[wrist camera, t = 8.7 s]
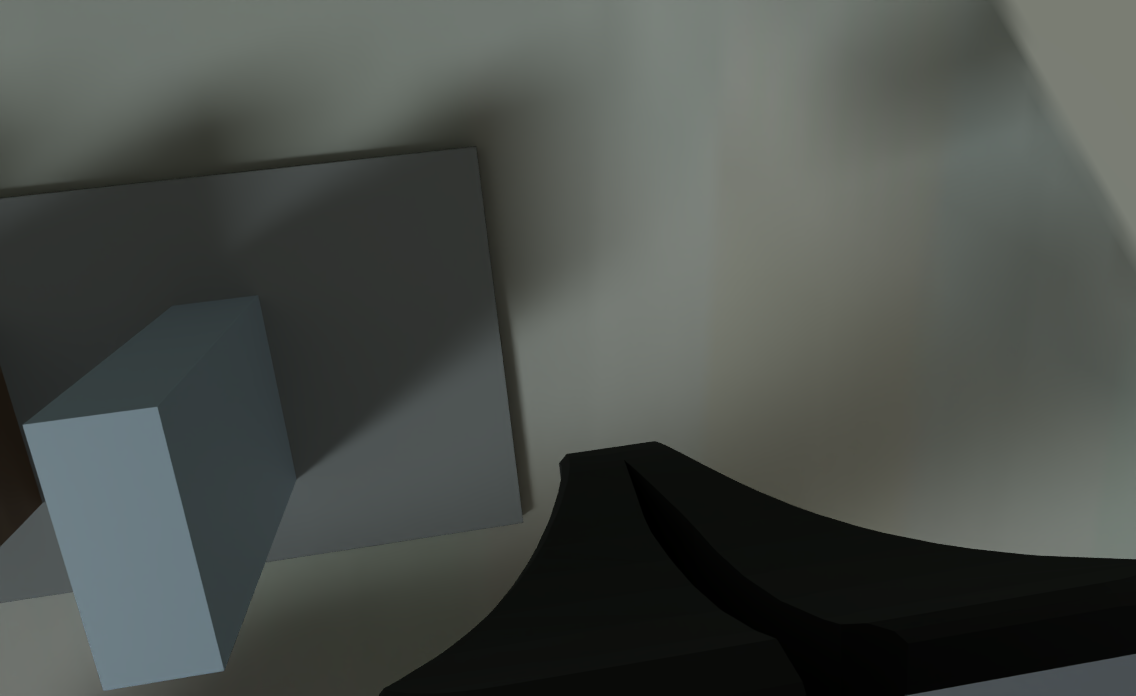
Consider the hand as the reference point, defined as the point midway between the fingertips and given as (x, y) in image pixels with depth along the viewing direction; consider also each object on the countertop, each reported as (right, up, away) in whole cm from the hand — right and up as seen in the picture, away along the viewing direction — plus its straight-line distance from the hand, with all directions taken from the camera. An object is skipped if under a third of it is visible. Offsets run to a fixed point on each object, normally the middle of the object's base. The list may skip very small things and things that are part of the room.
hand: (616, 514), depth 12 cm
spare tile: (-8, +1, +8) cm, 11 cm away
